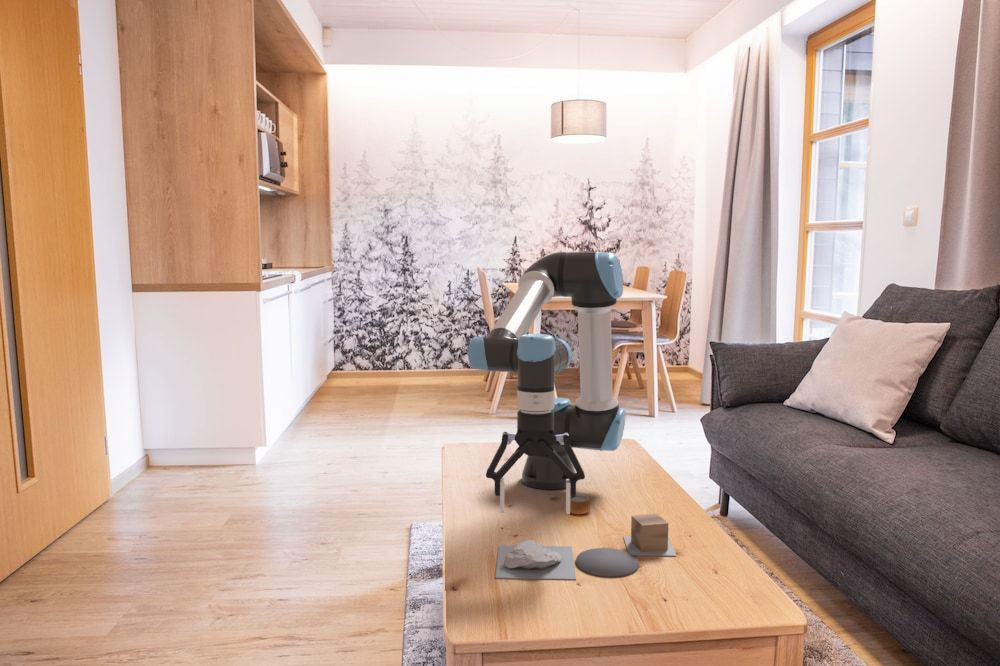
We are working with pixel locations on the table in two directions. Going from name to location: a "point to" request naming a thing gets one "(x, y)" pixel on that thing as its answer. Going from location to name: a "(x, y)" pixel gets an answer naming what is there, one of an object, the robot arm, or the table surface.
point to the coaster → (607, 562)
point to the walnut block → (649, 532)
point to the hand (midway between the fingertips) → (535, 511)
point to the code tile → (554, 572)
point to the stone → (531, 556)
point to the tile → (637, 552)
